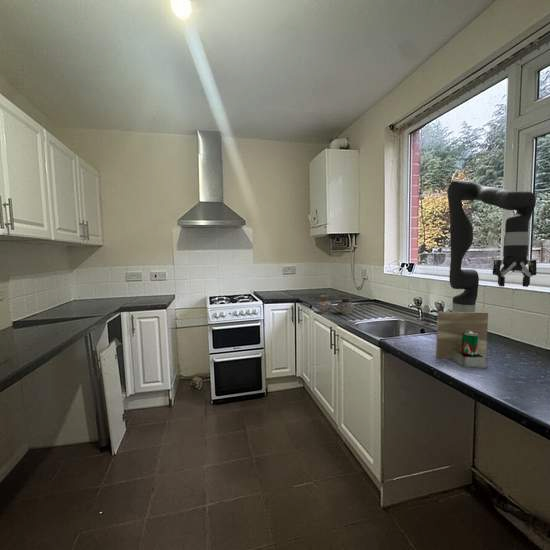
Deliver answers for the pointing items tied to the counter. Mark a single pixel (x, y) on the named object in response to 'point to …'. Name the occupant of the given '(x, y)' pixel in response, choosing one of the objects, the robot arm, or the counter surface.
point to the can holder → (469, 360)
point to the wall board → (459, 331)
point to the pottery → (343, 306)
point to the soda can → (469, 343)
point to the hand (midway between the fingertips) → (513, 286)
